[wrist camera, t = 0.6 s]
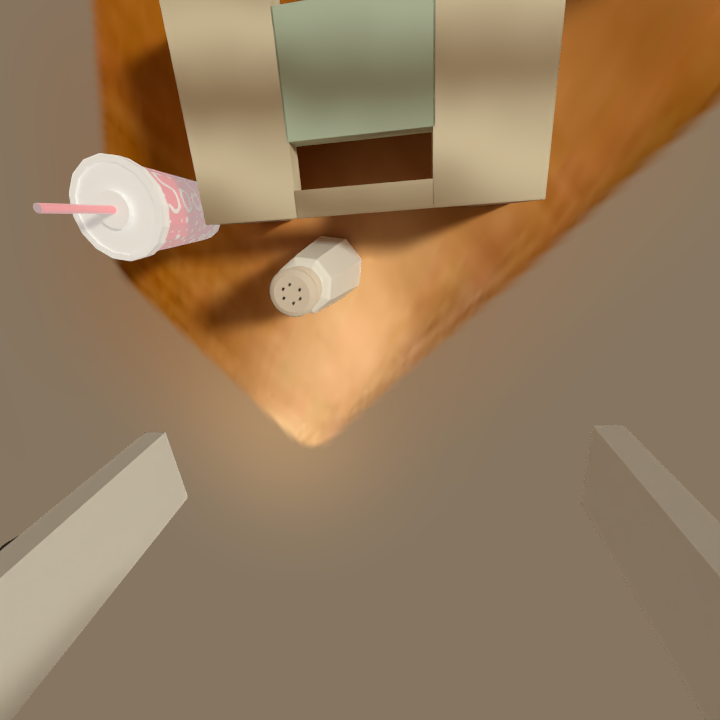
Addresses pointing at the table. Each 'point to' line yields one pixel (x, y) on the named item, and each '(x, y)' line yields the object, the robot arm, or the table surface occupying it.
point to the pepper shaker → (316, 277)
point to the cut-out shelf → (462, 144)
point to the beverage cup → (132, 208)
